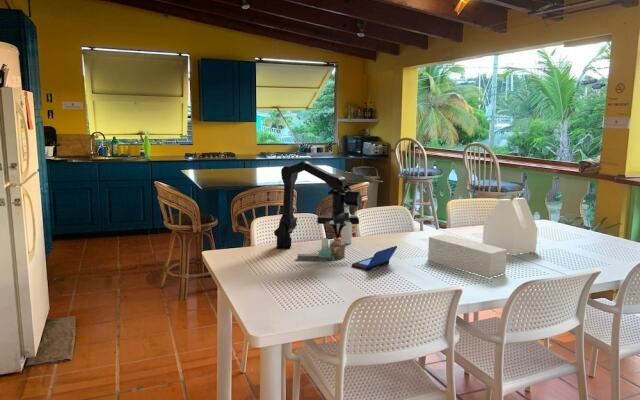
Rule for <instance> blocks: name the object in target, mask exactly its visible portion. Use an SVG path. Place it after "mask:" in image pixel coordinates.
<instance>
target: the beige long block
mask: <svg viewBox="0 0 640 400" xmlns="http://www.w3.org/2000/svg"><path fill="white" fill-rule="evenodd" d="M427 249H428V251H427V261H430V262H433V261H434V263H436V264H439V263H440V264H439V265H442V264H444V265H443V266H446V265H447V266H446V267H449V266H450V268H452V267H454V268H453V269H455V268H458V269H461V270H460V271H462V270H464V271H463V272H465V271H468V272H471V273H475V274H478V275H481V276H484V277H488V278H491V277H494V276H498V275H501V274H504V273H505V274H506V270H507V268H506V267H507V266H506V265H507V256H508V254H507V250H506V249H502V248H498V247H494V246H491V245H487V244H483V243H481V242H478V241H475V240H469V239H466V238H462V237H458V236H454V235H450V234H446V233H444V234H443V233H442V234H438V235H433V236H428V248H427ZM458 269H457V270H458ZM468 272H467V273H468ZM471 273H470V274H471ZM481 276H480V277H481ZM484 277H483V278H484Z"/></svg>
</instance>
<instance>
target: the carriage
mask: <svg viewBox="0 0 640 400" xmlns="http://www.w3.org/2000/svg"><path fill="white" fill-rule="evenodd" d="M318 254H319V257H331V250H330V247H329V238H327V237H322V239H321V248H318Z"/></svg>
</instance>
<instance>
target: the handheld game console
mask: <svg viewBox="0 0 640 400" xmlns="http://www.w3.org/2000/svg"><path fill="white" fill-rule="evenodd" d="M397 249H398V246H397V245H395V246H391V247H388V248H386V249H381V250H378V251H376V252H375V253H374V255H373V256H372V257H368V258H364V259H362V260H358V261H356V262H353V263H351V267H352V268H356V269H357V270H358V269H359V270H363V271H366V272H369V271H373V270H375V269H377V268H380V267H383V266H387V265H388V264H390V260H391V258H392V257H393V255H394V254H395V252H396V251H397Z"/></svg>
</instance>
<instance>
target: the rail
mask: <svg viewBox="0 0 640 400" xmlns="http://www.w3.org/2000/svg"><path fill="white" fill-rule="evenodd" d="M297 261H335V258H334V254H331V257H319V253H297Z"/></svg>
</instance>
